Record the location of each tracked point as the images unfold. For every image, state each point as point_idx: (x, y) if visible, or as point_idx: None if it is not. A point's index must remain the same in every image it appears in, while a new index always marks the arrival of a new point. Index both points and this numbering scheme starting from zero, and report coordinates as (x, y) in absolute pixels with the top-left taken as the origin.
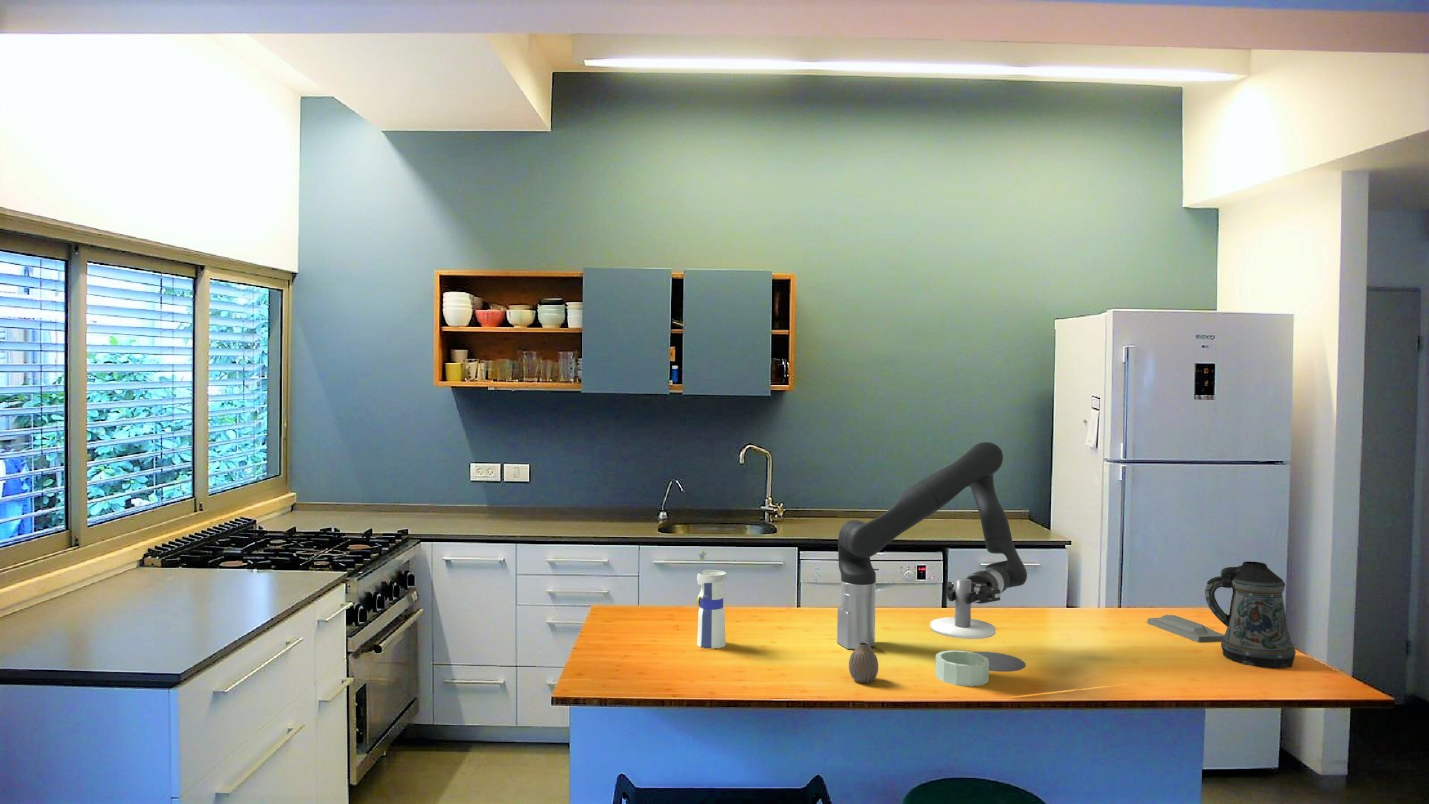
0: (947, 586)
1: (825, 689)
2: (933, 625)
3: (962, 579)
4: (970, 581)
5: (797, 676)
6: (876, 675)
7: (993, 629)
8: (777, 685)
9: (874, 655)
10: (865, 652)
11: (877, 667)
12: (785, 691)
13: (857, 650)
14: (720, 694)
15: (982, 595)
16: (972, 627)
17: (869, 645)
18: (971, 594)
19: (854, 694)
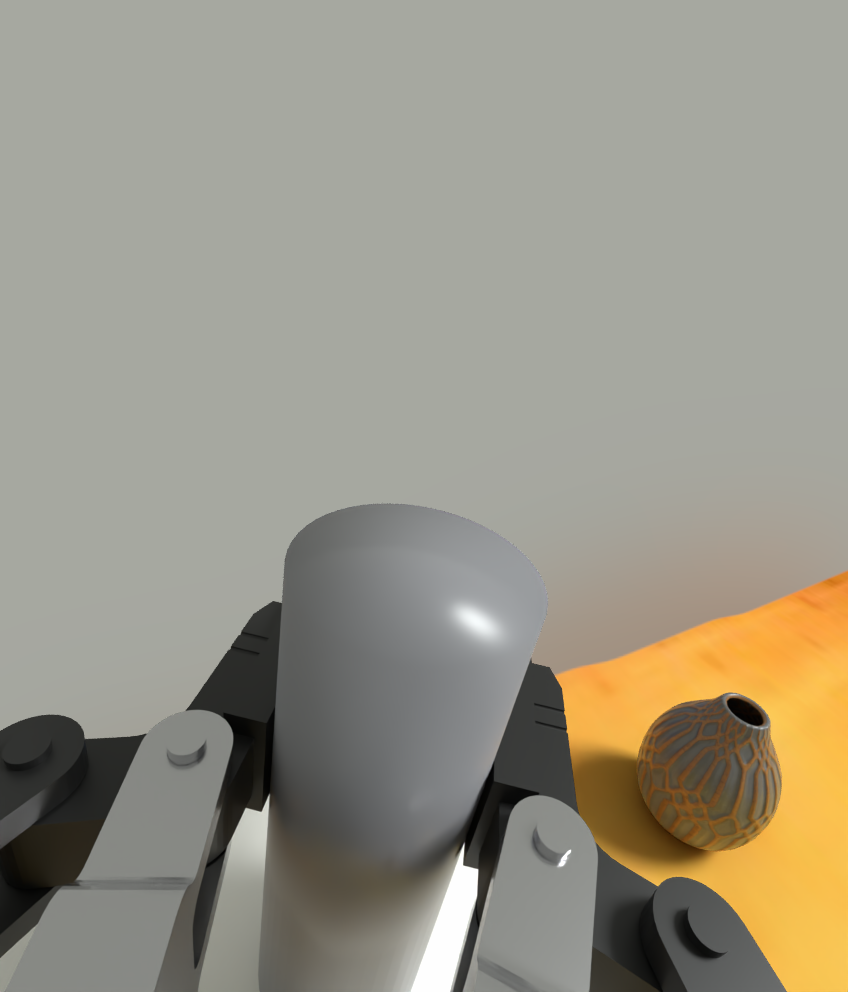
0: (742, 942)
1: (688, 688)
2: None
3: (438, 580)
4: (298, 541)
5: (840, 759)
6: (642, 789)
7: (8, 950)
8: (788, 674)
9: (680, 733)
10: (701, 701)
11: (648, 762)
12: (736, 647)
13: (736, 706)
14: (792, 600)
15: (88, 746)
16: (240, 924)
17: (725, 717)
18: (273, 635)
19: (607, 680)
